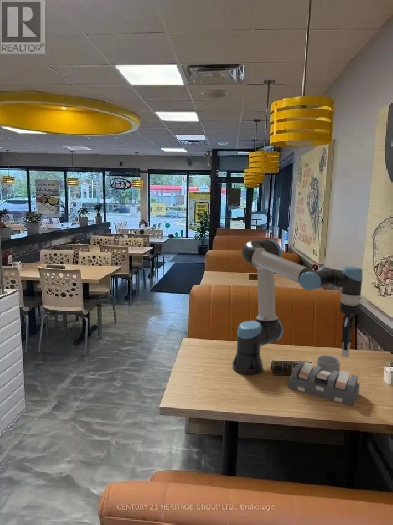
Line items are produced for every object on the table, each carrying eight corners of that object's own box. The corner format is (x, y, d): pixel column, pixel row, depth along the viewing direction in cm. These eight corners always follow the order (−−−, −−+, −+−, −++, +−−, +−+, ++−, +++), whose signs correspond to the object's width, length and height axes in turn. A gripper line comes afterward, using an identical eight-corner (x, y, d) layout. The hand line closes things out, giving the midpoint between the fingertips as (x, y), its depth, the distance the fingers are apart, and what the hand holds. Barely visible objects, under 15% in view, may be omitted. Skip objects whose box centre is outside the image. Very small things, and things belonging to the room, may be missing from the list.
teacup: (340, 381, 182) (342, 365, 181) (317, 378, 185) (318, 362, 183) (336, 368, 196) (337, 354, 195) (314, 366, 198) (315, 351, 197)
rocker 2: (316, 377, 168) (317, 373, 168) (322, 374, 176) (322, 370, 177) (326, 379, 166) (326, 375, 166) (331, 376, 174) (331, 372, 174)
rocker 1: (298, 377, 173) (298, 374, 172) (305, 364, 181) (305, 361, 180) (307, 379, 171) (307, 376, 170) (314, 366, 178) (314, 363, 178)
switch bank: (287, 387, 174) (289, 370, 173) (297, 377, 185) (298, 360, 184) (352, 406, 159) (354, 387, 158) (358, 393, 170) (360, 375, 169)
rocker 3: (335, 387, 165) (335, 384, 164) (340, 373, 172) (340, 370, 171) (345, 390, 162) (345, 386, 162) (350, 375, 170) (350, 372, 169)
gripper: (356, 308, 154) (351, 363, 158) (362, 301, 165) (357, 353, 169) (337, 305, 158) (332, 359, 162) (344, 299, 169) (339, 349, 173)
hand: (345, 356), depth 165 cm, fingers closed
